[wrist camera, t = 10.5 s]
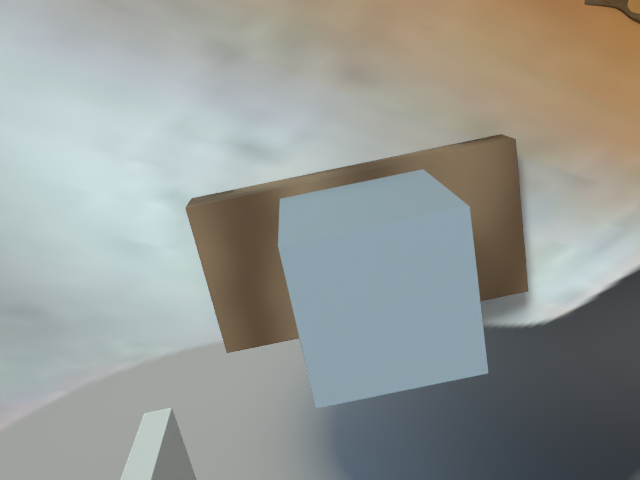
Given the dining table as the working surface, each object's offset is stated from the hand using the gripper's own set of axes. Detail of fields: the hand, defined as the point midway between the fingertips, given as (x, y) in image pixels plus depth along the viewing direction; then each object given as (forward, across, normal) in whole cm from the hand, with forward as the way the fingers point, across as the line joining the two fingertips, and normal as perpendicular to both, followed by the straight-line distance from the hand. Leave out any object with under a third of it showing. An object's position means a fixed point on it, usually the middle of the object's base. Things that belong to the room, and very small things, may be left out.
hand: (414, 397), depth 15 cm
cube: (+13, 0, 0) cm, 13 cm away
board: (+15, +1, 0) cm, 15 cm away
